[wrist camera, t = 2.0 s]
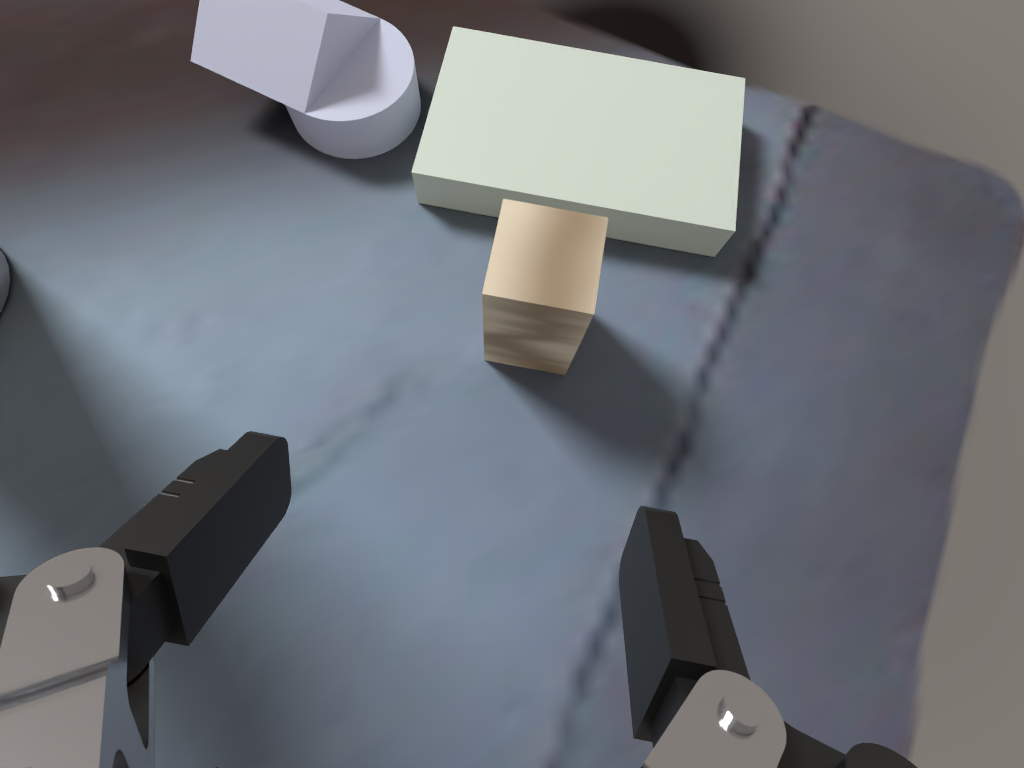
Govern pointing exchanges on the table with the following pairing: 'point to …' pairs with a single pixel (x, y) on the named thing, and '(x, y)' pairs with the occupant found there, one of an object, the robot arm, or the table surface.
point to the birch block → (541, 285)
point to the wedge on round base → (317, 68)
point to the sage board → (584, 139)
